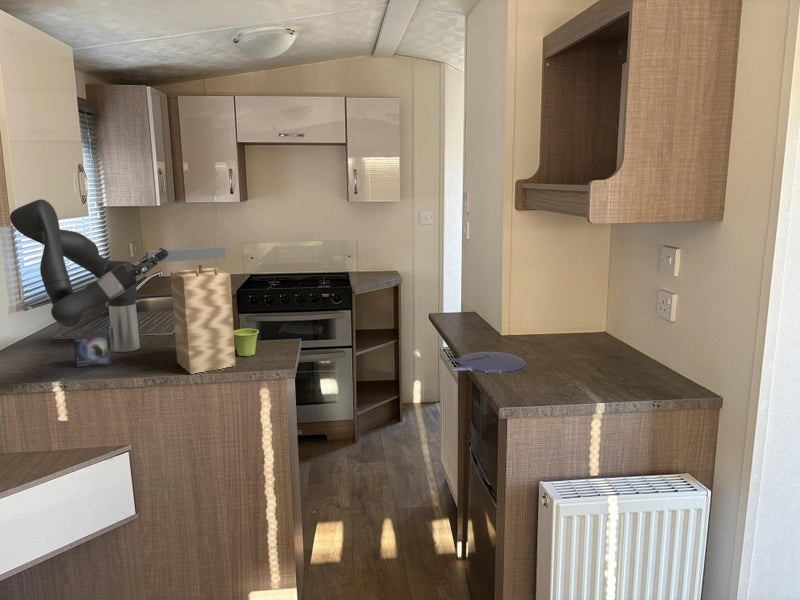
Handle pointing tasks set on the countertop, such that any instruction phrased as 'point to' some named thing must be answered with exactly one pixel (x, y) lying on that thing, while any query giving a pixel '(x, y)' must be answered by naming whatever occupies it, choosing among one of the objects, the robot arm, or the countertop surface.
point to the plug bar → (190, 254)
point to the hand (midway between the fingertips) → (165, 251)
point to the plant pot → (245, 341)
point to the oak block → (203, 319)
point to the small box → (92, 349)
